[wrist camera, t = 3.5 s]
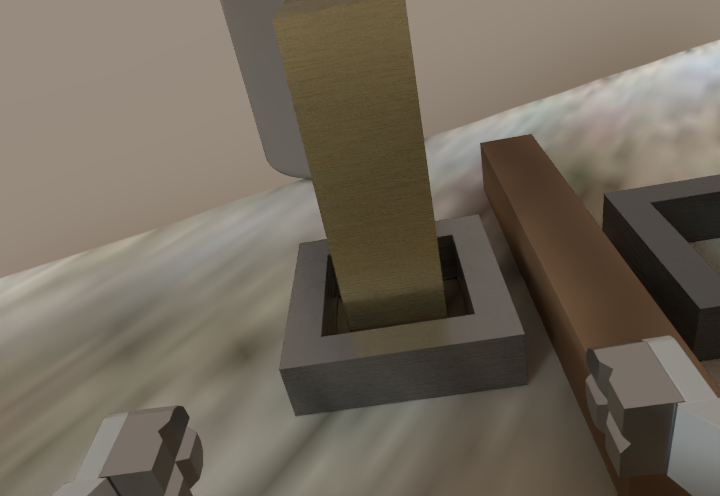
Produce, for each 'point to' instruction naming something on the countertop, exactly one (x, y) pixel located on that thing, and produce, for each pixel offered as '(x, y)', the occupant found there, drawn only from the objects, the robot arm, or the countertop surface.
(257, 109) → the tall grey cup
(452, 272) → the grey square frame
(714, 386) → the rail
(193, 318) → the countertop surface
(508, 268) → the countertop surface
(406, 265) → the lock bar
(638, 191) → the frame
